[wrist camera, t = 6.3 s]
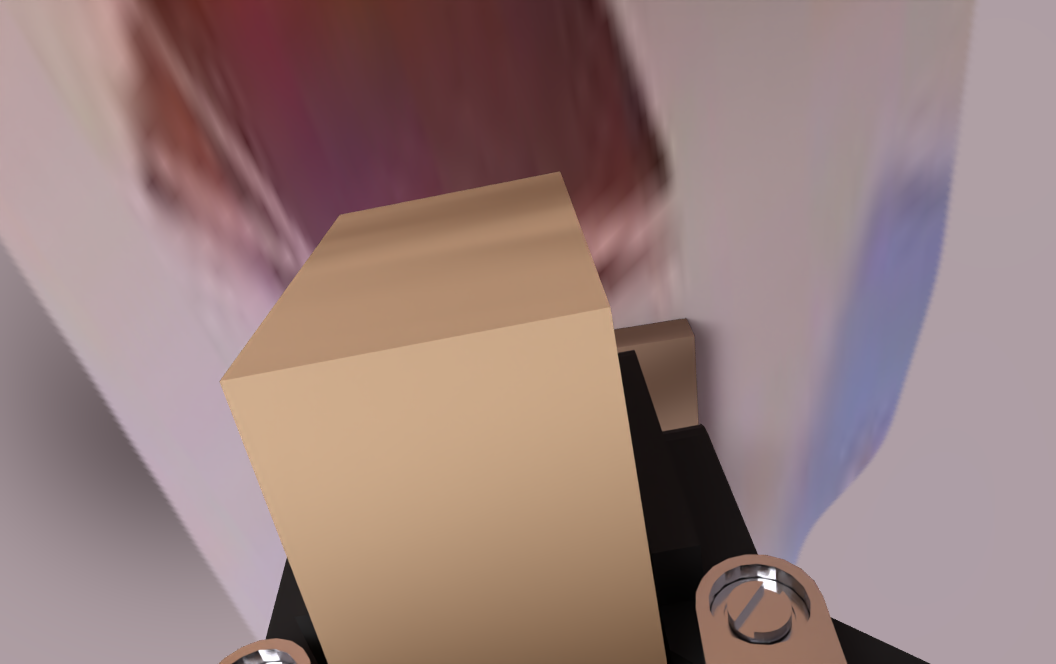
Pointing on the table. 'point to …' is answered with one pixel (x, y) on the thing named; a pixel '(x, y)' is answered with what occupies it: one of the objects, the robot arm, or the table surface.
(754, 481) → the table surface
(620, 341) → the walnut board
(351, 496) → the tan block
